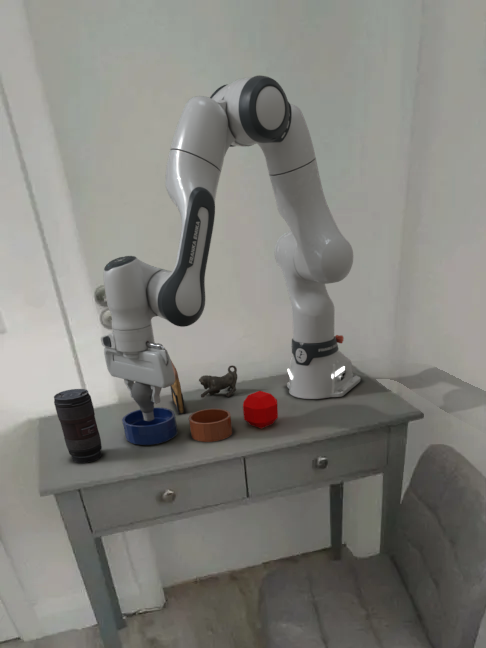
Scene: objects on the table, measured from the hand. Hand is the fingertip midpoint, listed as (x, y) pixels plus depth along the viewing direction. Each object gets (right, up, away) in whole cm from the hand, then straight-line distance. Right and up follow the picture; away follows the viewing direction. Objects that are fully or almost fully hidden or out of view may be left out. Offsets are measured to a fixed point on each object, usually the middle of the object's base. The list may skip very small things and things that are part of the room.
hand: (145, 399), depth 146 cm
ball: (+28, -4, +7) cm, 29 cm away
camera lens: (-13, -14, -2) cm, 20 cm away
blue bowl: (+1, -7, +5) cm, 9 cm away
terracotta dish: (+16, -7, +4) cm, 18 cm away
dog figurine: (+15, +10, +27) cm, 33 cm away
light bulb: (0, -4, +3) cm, 5 cm away
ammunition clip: (+5, +5, +21) cm, 22 cm away
